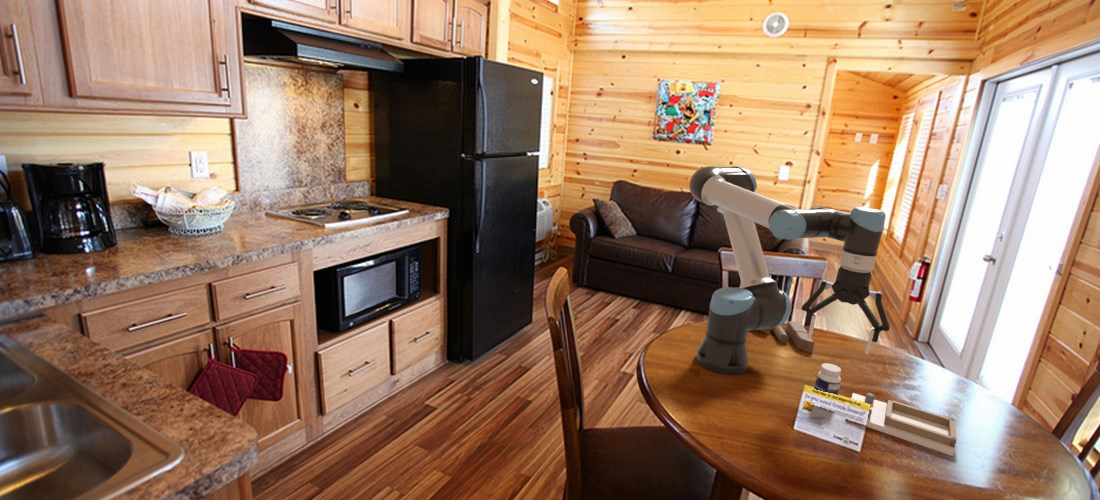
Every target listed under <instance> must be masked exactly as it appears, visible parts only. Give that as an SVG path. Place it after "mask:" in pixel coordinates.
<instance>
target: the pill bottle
mask: <svg viewBox="0 0 1100 500" xmlns="http://www.w3.org/2000/svg"><path fill="white" fill-rule="evenodd" d="M841 372H842V369H841V367H839V366H838V365H836V364H833V363H825V362H824V363H822V364H821V366H820V371H819V372H817V375H816V380H815V384H814V388H813V390H814V389H816V390H820V391H823V392H828V393H833V394H836V395H838V396H839V391H840V388H841V387H840V386H841V383H842V382H841V381H842V378H841Z"/></svg>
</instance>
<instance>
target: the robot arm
mask: <svg viewBox="0 0 1100 500" xmlns="http://www.w3.org/2000/svg"><path fill="white" fill-rule="evenodd" d="M688 187H689V192H690V194H691V195H692V197H693V198H694V199H695V200H696V201H698V202H701V203H703V204H705V205H706V206H712V207H713V206H716V210H717V212H718V213H721V214H722V215H723V219H724V221H725V227H726V230H727V234H728V237H729V241H730V245H731V249H732V252H733V256H734V259H735V265H736V268H737V271H738V274H739V279H740V282H741V283H740V286H739V287H737V286H736V287H733V286H727V287H726V286H725V287H721V288H717V289H716V290H715V291H714V292H713V293H712V296H711V300H710V303H709V311H708V317H707V318H708V319H707V323H706V324H707V325H706V331H705V336H704V338H703V340H702V342H701V343H700V344H699V345H700V346H699V348H698V349H697V352H696V358H695V359H696V361H697V363H699V364H700V366H702V367H704V368H706V369H707V370H709V371H712V372H715V373H718V374H723V375H740V374H744V373H745V372H747V370H748V367H749V357H748V351H747V347H746V341H747V337H748V332H749V331H758V330H757V329H764V328H770V329H772V328H773V327H776V326H780V325H781V326H782V325H783V324H785V323H786V322H788V321H789V318H790V316H791V314H792V313H791V312H792V302H791V299H790V297H789V295H788V294H787V292H786V293H785V291H784V290H782V289H779V287H778V283H777V281H776V280H774V279H773V278H771V277H770V274H769V271H768V270H769V269H768V266H767V263H766V259H765V255H764V251H763V248H762V245H761V241H760V237H759V234H758V230H757V227H756V224H758V225H760V226H762V227H765V228H767V229H768V230H769V231H770V232H771V233H772V235H773V236H774V237H775V238H777V239H780V240H787V241H788V240H789V241H790V240H797V239H815V238H817V239H818V238H829V239H832V240H837V241H840V242H843V248H842V251H841V256H840V260H839V265H840V266H839V267H838V269H837V272H836V276H835V282H834V283H833V282H830V281H828V280H827V279H823V280H822V281H821V283H820V285H819V288H817V289H816V291H815V292H814V293H813V294H812V295H811V296H810V297H809V298H808V299H807V300H806V301H805V302H804V304H803V305H802V306H801V310H802V311H803V312H804V311H805V312H806V313H807V317H806V321H805V324H806V326H809V329H808V337H807V338H811V339H812V336H813V333H814V328H815V324H816V320H817V315H818V314H817V313H816V312H819V311H820V310H822V309H823V308H825V307H827V306H828V305H830V304H832V303H833V302H836V301H838V300H839V302H840V303H845V304H847V303H848V304H849V305H853V306H854V305H858V306H859V308H860V309H861V310H862V312H863V314H864V315H865V317H866V318H867V320H868V321H869V323H870V324H871V326H872V327H871V328H870V332H869V336H868V340H867V343H866V347H865V351H864V352H865V355H870V354H869V353H870V350H871V347H872V343H877V342H878V340H879V336H880V333H881V332H882V331H885V332H889V331H890V329H891V328H890V327H891V326H890V323H889V322H890V321H889V319H888V316H887V314H886V313H887V312H886V310H885V306H884V303H883V301H882V297H883V292H882V291H881V290H878V291H872V290H870V284H871V279H872V276H873V273H872V271H873V270H874V269H875V264H876V260H877V258H878V257H877V256H878V250H879V246H880V243H881V239H882V236H883V233H884V231H885V222H886V218H887V217H886V213H885V212H884V211H883V210H881V209H876V208H871V207H870V208H869V207H863V206H861V207H860V206H858V207H857V206H856V207H853V208H852V209H851V211H850V212H847V211H842V210H838V209H833V208H829V207H827V206H819V205H815V206H811V207H810V208H808V209H806V208H805V209H803V208H802V209H800V208H796V207H793V206H790V205H788V204H785V203H782V202H780V201H777V200H776V199H772V198H769V197H767V196H765V195H762V194H759V193H757V192H756V190H757V188H758V185H757V180H756V177H755V176H754V174H753V172H752V171H750V170H749V169H747V168H745V167H740V166H733V165H732V166H710V165H707V166H704V167H701V168H699V169H698V170H696V171H695V172H694V173H693V174H692V176H691V178H690V181H689V185H688ZM755 223H756V224H755ZM829 288H831V289H832V291H833V293H832V294H831V295H830V296H827V298H825V299H823V300H822V301H820V302H819V303H816V304H814V306H812V304H813V303H814V302H815V300H817V299H818V297H820V295H821V294H822V293H823V292H824V291H825V290H828V289H829ZM869 296H870V297H871V299H872V301H875V306H876V309H877V314H878V315H879V318H880V321H881V322H879V320H878V319H877V317H876V316H875V314H874V313H873V311H872V310H871V308H870V307H869V305H868V303H867V302H866V298H868V297H869ZM811 306H812V307H811Z"/></svg>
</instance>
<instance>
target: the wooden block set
mask: <svg viewBox="0 0 1100 500" xmlns="http://www.w3.org/2000/svg"><path fill="white" fill-rule="evenodd" d="M758 330H759V332H761V331H762V332H761V333H764V334H766V333H767V334H766V335H770V331H771V330H772V332H773V333H774V334H775V336H776V338H777V340H778V341H779V342H780V343H782V342H784V343H783V344H785V343H788V341H789V340H790V341H791V340H792V341H793V342H792V343H794V345H795V346H796V347H797V349H798V350H800V351H802V352H804V351H805V353H809V354H812V353H813V352H814V349H815V344H816V342H815V341H814V340H813V339H812V337H811V338H807V337H808V333H809V331H808V330H807V329H806V328H805V327H804V325H803V324H802V323H801V322H797V321H789V320H787V325H786V328H785V329H784V328H783V326H782V325H780V326H776V327H773V328H764V329H757V330H756V331H758ZM787 334H788V335H787ZM789 337H790V338H789Z"/></svg>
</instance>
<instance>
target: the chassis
mask: <svg viewBox="0 0 1100 500" xmlns="http://www.w3.org/2000/svg"><path fill="white" fill-rule="evenodd" d="M875 397H876V396H875V394H873V393H870V392H867V393H865V396H864V395H862V394H858V393H855V392H853V393H852V395H851V399H854V400H857V401H861V402H864V403H868V404H870V406H871V408H870V409H869V414H868V420H867V428H869V429H873V430H874V431H875V430H876V431H879V432H881V433H884V434H887V435H890V436H892V437H896V438H899V439H902V440H905V441H906V442H910V443H913V444H916V445H919V446H922V447H924V448H928V449H930V450H934V451H936V452H939V453H942V454H945V455H949V456H951V457H954V455H955V446H956V443H957V440H958V439H957V433H956V431H957V430H956V423H955V422H956V421H955V419H953V418H950V417H947V416H944V415H940V414H938V413H934V412H933V411H932V412H931V411H927V410H925V409H921V408H919V407H915V406H912V405H908V404H905V403H902V402H899V401H896V400H892V399H890V398H888V400H887V401H886V402H887V403H886V402H884V401H880V400H877V399H875ZM851 399H850V400H851Z"/></svg>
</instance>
